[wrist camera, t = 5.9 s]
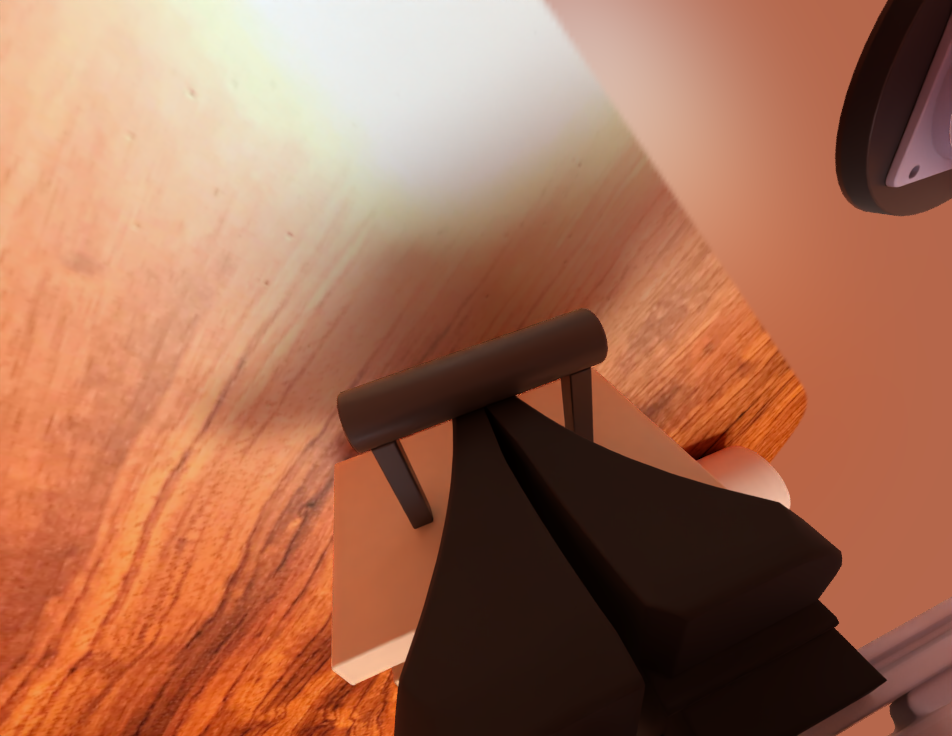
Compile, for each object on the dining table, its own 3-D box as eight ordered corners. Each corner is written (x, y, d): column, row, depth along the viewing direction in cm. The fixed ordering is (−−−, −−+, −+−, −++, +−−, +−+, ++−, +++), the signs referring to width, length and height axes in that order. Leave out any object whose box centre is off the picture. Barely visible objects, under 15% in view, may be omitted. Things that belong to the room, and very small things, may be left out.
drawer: (262, 353, 10) (187, 560, 5) (589, 247, 12) (778, 329, 7) (430, 612, 20) (460, 771, 15) (597, 537, 21) (676, 660, 16)
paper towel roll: (622, 474, 21) (675, 520, 17) (719, 432, 22) (791, 467, 18) (633, 531, 23) (686, 585, 19) (725, 489, 23) (794, 533, 20)
